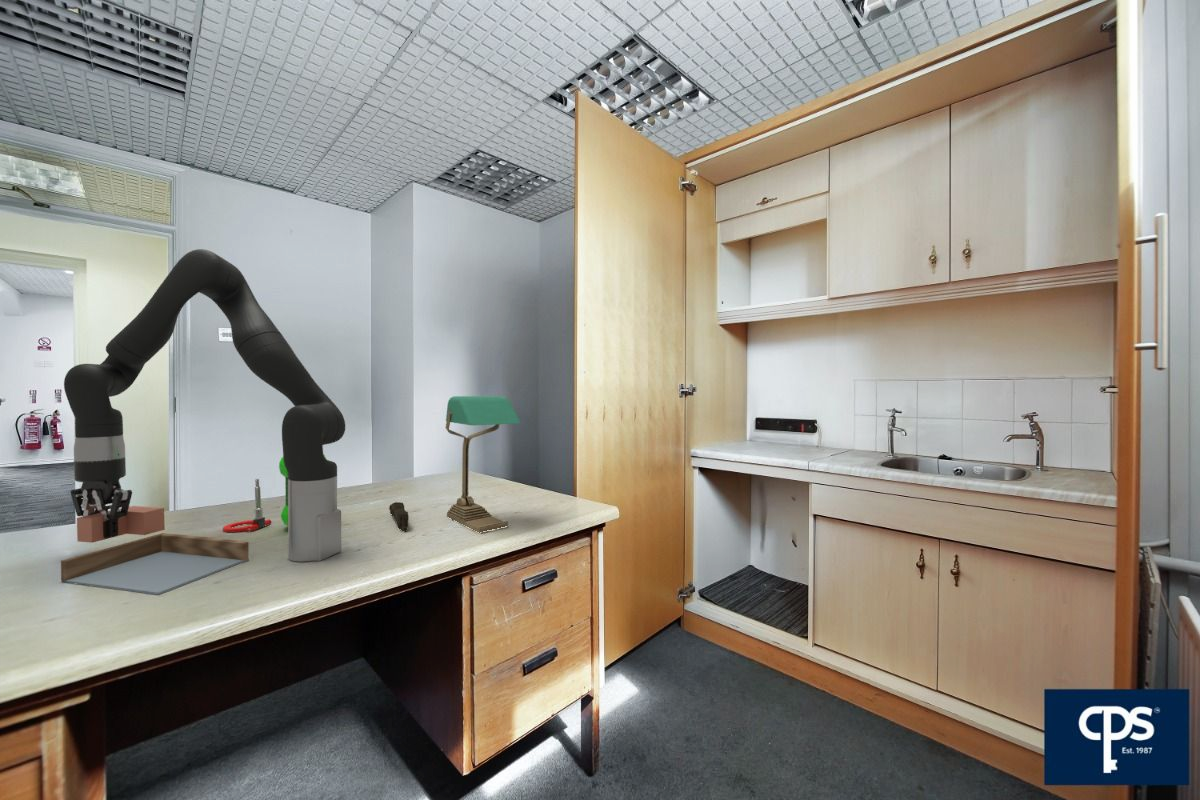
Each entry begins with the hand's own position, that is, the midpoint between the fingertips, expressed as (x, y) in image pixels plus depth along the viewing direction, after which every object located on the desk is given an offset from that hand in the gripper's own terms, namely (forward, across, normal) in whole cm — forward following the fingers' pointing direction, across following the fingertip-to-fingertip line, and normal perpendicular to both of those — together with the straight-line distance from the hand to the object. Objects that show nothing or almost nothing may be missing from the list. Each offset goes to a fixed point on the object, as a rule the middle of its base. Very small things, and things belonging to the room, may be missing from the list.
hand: (102, 536), depth 100 cm
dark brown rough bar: (+5, -47, -37) cm, 60 cm away
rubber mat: (+5, -20, +3) cm, 21 cm away
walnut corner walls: (+5, -20, +3) cm, 21 cm away
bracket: (0, -3, -2) cm, 3 cm away
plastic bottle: (+5, -25, -27) cm, 37 cm away
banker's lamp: (+5, -67, -42) cm, 79 cm away
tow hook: (+5, -11, -23) cm, 26 cm away
